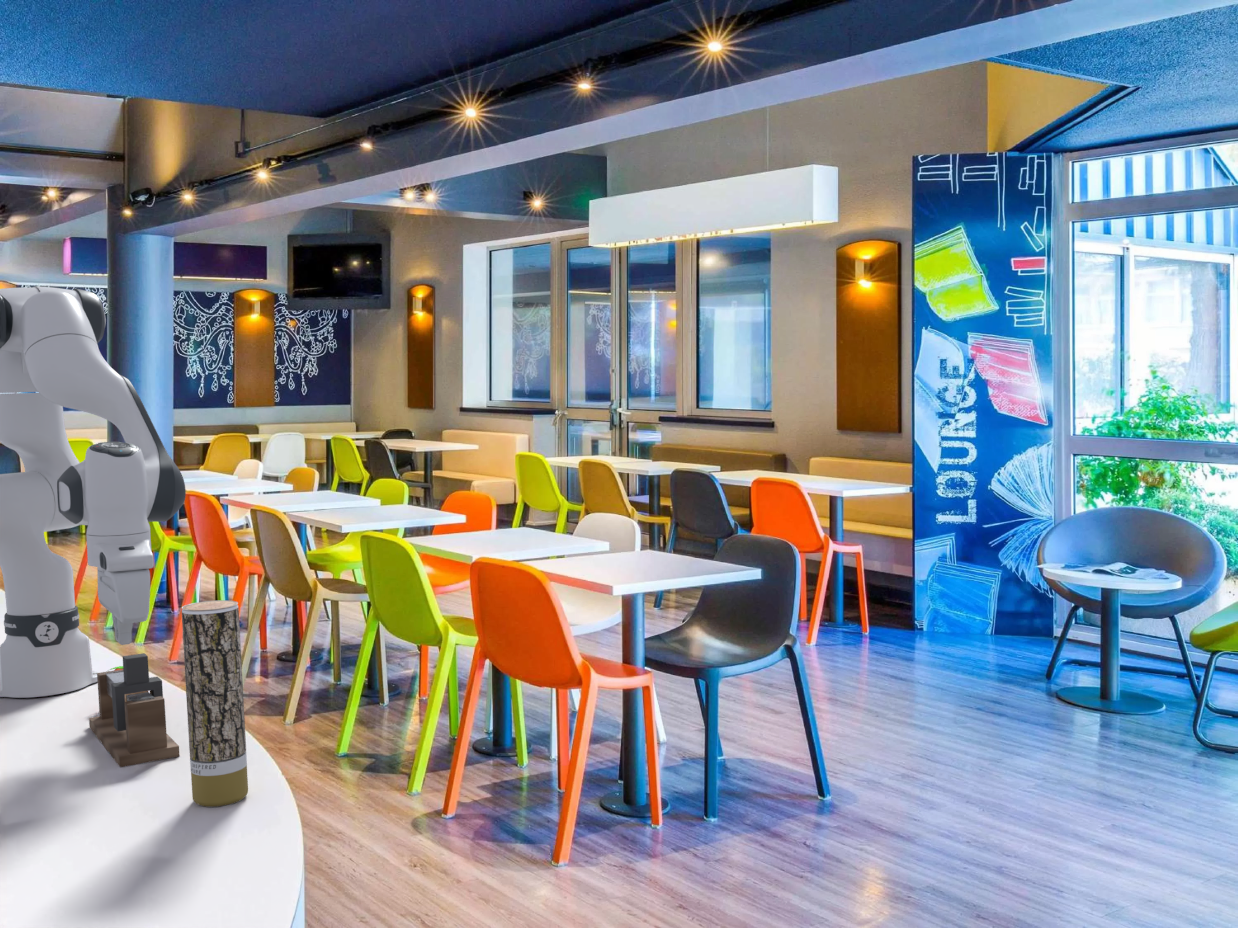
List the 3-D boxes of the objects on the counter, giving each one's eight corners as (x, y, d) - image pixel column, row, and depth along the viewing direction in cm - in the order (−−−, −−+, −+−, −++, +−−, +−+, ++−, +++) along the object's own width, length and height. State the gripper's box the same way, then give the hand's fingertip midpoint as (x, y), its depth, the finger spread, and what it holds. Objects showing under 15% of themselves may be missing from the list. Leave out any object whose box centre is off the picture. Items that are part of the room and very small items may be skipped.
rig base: (89, 727, 189) (86, 673, 188) (143, 718, 193) (140, 665, 192) (120, 767, 168) (116, 707, 167) (179, 756, 172) (176, 697, 171)
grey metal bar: (105, 692, 188) (104, 672, 188) (126, 689, 190) (125, 669, 190) (134, 723, 170) (132, 701, 170) (157, 719, 171) (155, 698, 171)
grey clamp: (113, 726, 174) (109, 657, 174) (160, 718, 178) (155, 651, 177) (117, 731, 172) (113, 661, 171) (164, 723, 175) (160, 654, 175)
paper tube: (231, 809, 149) (220, 610, 147) (181, 807, 150) (170, 610, 149) (258, 791, 156) (248, 600, 154) (210, 789, 157) (200, 600, 155)
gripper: (85, 545, 186) (89, 632, 187) (109, 562, 169) (113, 658, 170) (128, 541, 190) (132, 627, 191) (156, 557, 172) (160, 652, 174)
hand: (123, 642), depth 180 cm, fingers closed
